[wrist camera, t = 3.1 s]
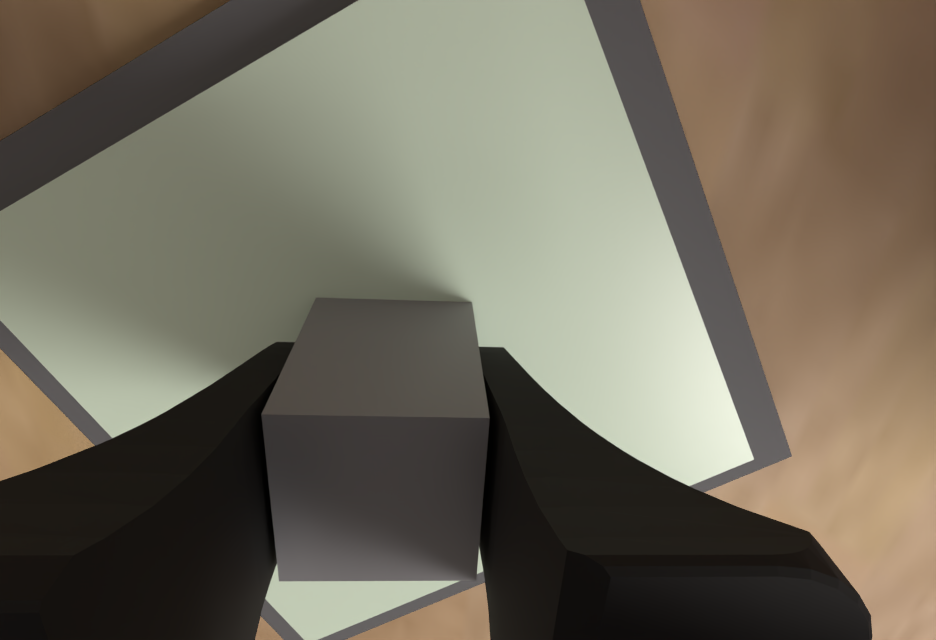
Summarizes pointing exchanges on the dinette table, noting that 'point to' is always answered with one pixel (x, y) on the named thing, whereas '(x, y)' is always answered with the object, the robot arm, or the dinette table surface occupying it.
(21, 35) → the dinette table surface
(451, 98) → the sheet
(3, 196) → the mat
